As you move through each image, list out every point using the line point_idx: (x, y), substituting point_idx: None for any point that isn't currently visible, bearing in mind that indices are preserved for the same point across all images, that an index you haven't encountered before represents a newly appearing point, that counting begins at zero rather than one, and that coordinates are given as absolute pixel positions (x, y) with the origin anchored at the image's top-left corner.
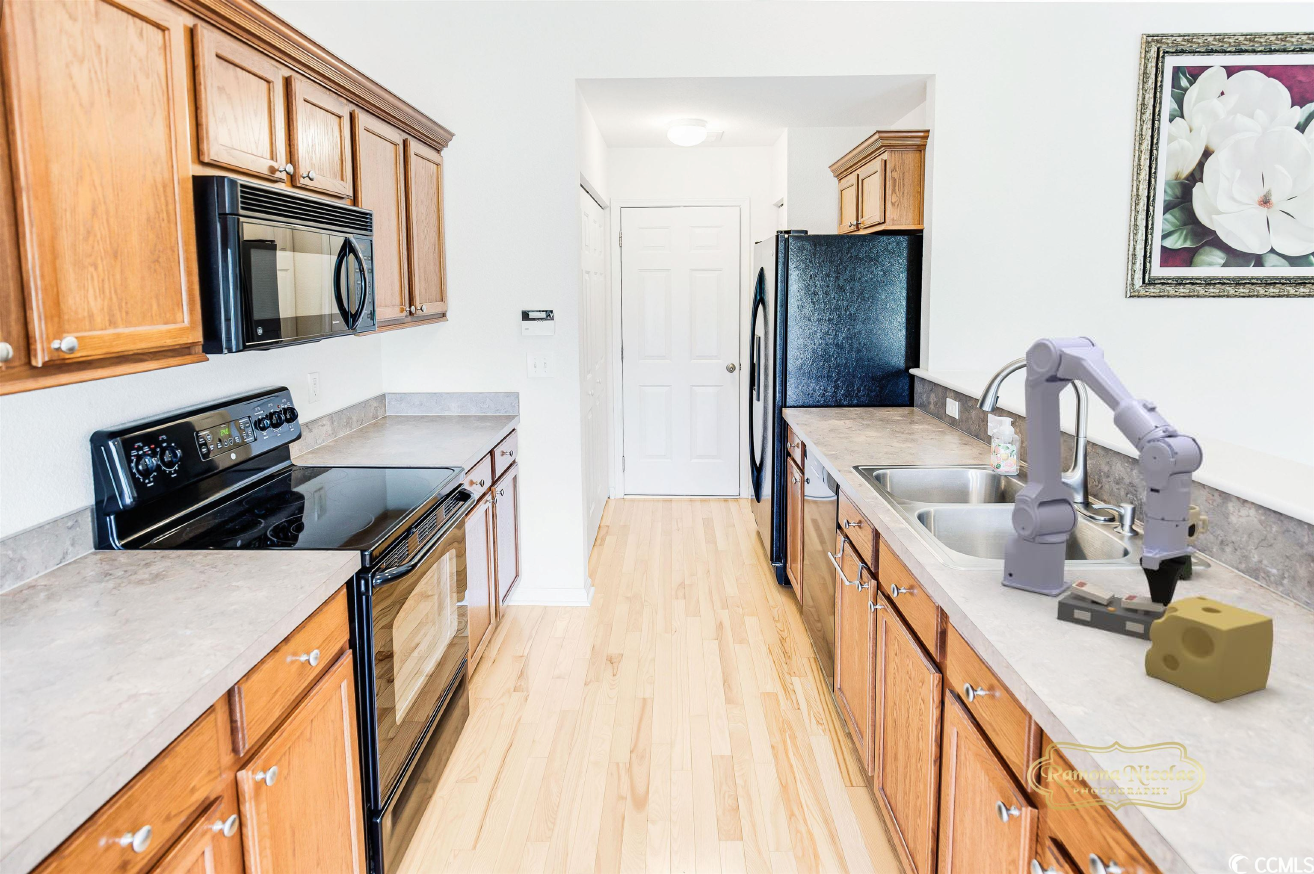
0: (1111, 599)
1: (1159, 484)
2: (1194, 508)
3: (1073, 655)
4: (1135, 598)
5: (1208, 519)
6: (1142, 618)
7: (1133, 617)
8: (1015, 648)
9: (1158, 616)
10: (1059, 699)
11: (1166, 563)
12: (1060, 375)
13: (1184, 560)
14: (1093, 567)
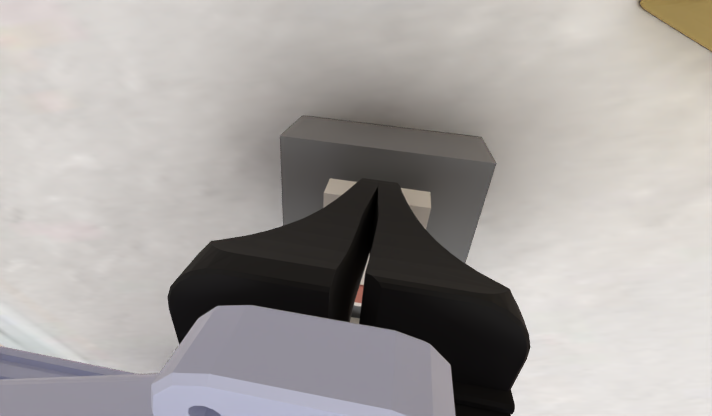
0: (350, 320)
1: None
2: None
3: (694, 315)
4: (362, 282)
5: None
6: (462, 229)
7: (465, 253)
8: (680, 404)
9: (406, 188)
10: None
11: (494, 409)
12: None
13: (272, 297)
14: (20, 326)
